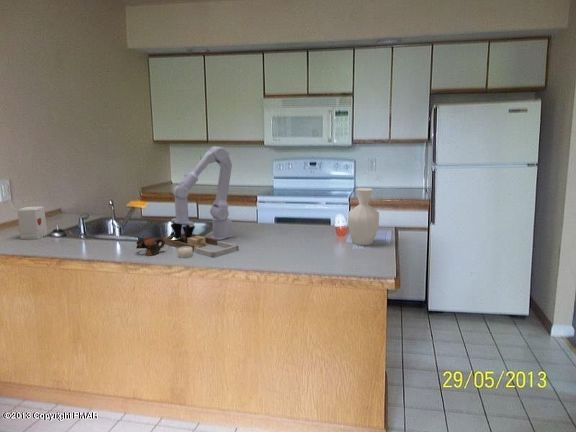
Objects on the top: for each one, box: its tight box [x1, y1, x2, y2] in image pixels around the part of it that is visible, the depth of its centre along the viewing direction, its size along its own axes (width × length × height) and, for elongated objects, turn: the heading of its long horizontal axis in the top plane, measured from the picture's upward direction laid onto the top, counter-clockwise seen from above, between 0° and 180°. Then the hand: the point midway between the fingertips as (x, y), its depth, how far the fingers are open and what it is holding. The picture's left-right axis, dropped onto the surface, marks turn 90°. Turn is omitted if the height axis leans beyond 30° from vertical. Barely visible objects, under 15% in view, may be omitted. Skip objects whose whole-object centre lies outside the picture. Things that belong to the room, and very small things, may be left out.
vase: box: [347, 187, 380, 246], centre depth 207 cm, size 14×14×25 cm
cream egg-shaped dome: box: [177, 246, 194, 259], centre depth 193 cm, size 6×6×4 cm
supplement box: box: [16, 205, 48, 240], centre depth 227 cm, size 9×9×15 cm
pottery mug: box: [136, 236, 166, 257], centre depth 198 cm, size 12×10×8 cm
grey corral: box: [194, 240, 239, 258], centre depth 199 cm, size 14×12×2 cm
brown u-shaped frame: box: [161, 232, 218, 252], centre depth 212 cm, size 14×23×2 cm, turn 49°
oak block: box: [186, 235, 207, 249], centre depth 208 cm, size 6×6×4 cm
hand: (183, 239), depth 214 cm, fingers open, 7 cm apart
